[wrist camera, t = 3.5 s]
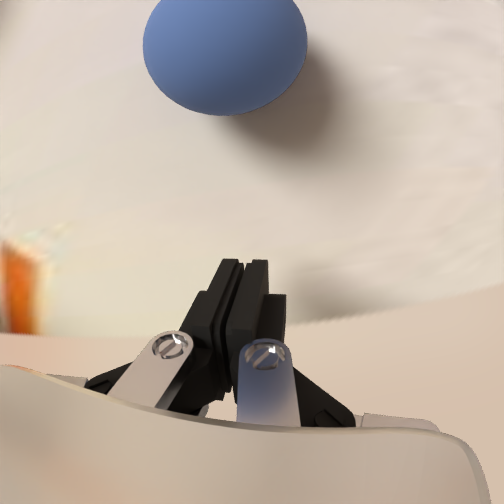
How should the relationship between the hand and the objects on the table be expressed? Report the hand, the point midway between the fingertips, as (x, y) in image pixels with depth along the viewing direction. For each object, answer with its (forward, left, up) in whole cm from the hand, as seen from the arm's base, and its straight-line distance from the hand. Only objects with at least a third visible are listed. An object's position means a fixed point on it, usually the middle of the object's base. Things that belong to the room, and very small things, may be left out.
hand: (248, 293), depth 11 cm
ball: (-1, +9, -2) cm, 10 cm away
